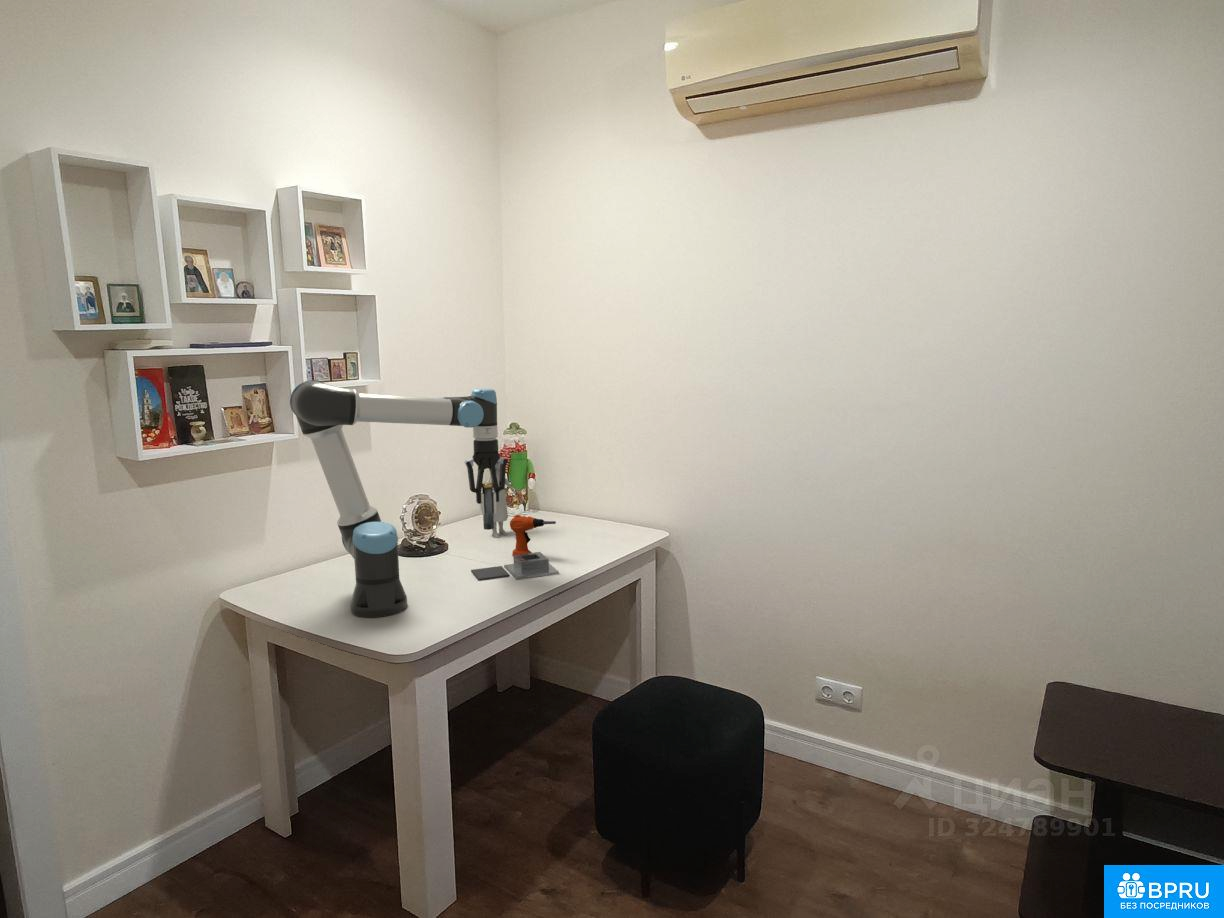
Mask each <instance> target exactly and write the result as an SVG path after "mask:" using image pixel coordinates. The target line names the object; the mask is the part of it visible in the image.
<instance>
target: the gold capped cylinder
mask: <svg viewBox="0 0 1224 918" xmlns="http://www.w3.org/2000/svg"><path fill="white" fill-rule="evenodd" d="M493 487H494V486H493V483H491V482H487V481H486V482H482V490H481V492H482V493H483V494H484V514H482V518H483V519H482V520H483V523H482V524H483V529H484V530H485V531H487V530H492V529H494V515H493Z"/></svg>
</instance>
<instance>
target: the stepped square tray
mask: <svg viewBox="0 0 1224 918" xmlns="http://www.w3.org/2000/svg"><path fill="white" fill-rule="evenodd" d="M512 557H513V563H510V564H504V567H503V568H504V569H505V570H506V571H507V572H508V573H509V574H510V575H511V577H513V578H514V579H515V580H523V579H534V578H537V577H538V578H539V577H546V576H553V575H559V574H560V572H559V570H558V569H557V568H555V567H554V566H553V565H552V564H550V562H549V561H550V559H549V558H548V557H546V555H544V553H542V552H541V551H535V552H532V553H527V554H519V555H513V556H512Z"/></svg>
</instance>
